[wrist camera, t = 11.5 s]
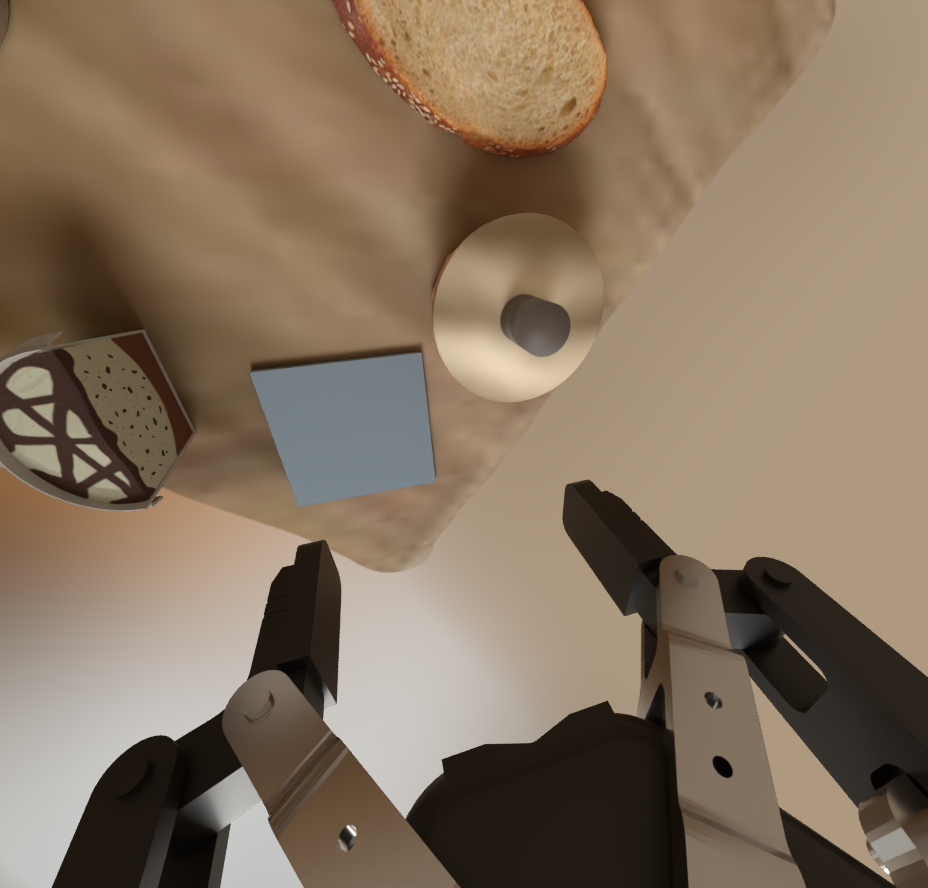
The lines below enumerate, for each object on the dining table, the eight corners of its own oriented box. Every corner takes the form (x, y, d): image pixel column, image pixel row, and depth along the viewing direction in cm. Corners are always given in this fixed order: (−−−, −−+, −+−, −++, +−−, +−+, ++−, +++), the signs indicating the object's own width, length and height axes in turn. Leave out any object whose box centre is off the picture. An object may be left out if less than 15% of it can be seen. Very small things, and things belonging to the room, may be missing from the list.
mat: (251, 370, 32) (249, 372, 31) (420, 350, 34) (421, 352, 34) (299, 503, 39) (298, 506, 39) (434, 478, 42) (435, 481, 41)
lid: (422, 218, 24) (435, 213, 20) (610, 209, 27) (659, 202, 22) (440, 409, 31) (452, 437, 27) (587, 387, 34) (620, 409, 29)
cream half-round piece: (40, 317, 27) (-111, 354, 18) (134, 308, 28) (33, 339, 19) (129, 458, 33) (47, 534, 24) (203, 446, 34) (149, 515, 25)
